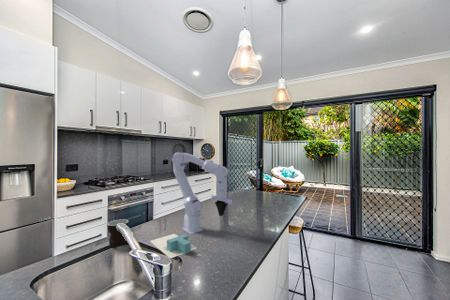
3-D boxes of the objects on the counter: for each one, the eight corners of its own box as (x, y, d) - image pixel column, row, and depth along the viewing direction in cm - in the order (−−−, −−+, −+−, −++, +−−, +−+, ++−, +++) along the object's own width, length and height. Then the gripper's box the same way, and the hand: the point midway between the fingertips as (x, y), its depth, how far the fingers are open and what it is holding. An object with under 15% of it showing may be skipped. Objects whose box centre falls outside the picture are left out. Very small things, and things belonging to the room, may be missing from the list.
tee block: (166, 249, 84) (166, 240, 84) (184, 242, 90) (184, 234, 91) (178, 257, 78) (178, 247, 78) (196, 249, 84) (196, 240, 84)
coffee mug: (108, 241, 92) (109, 220, 92) (129, 239, 95) (129, 218, 95) (103, 253, 81) (103, 229, 81) (125, 249, 84) (126, 226, 84)
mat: (149, 241, 92) (149, 240, 92) (174, 234, 101) (174, 233, 101) (170, 260, 76) (170, 258, 76) (198, 249, 85) (198, 248, 85)
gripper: (207, 188, 105) (206, 213, 105) (225, 192, 94) (225, 220, 94) (217, 187, 110) (216, 211, 109) (235, 190, 99) (235, 217, 99)
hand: (221, 215), depth 102 cm, fingers closed
